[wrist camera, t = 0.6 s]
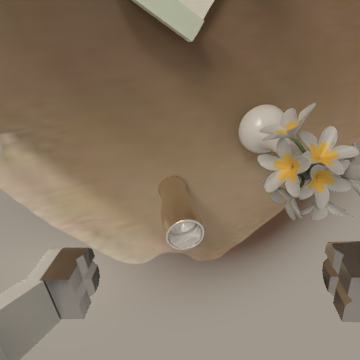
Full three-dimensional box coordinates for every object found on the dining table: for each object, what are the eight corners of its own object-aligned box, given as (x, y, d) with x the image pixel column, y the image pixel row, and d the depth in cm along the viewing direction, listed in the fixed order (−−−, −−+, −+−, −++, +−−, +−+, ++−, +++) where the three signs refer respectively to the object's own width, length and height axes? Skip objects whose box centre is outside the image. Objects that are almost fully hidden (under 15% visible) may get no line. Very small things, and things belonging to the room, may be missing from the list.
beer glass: (189, 172, 59) (206, 216, 46) (188, 200, 63) (204, 248, 50) (155, 175, 58) (164, 221, 45) (156, 203, 62) (165, 253, 49)
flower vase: (249, 62, 50) (342, 99, 29) (303, 128, 58) (405, 194, 37) (197, 116, 53) (245, 186, 32) (254, 171, 62) (323, 255, 40)
